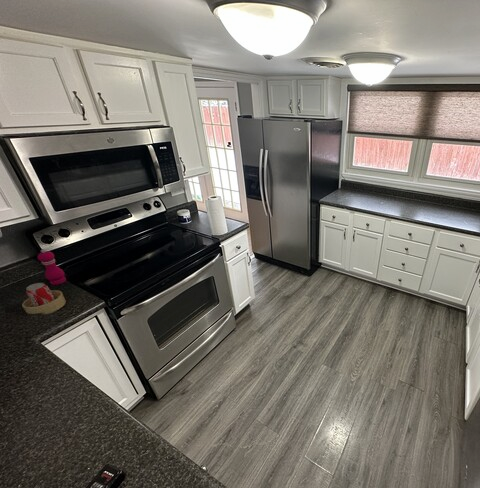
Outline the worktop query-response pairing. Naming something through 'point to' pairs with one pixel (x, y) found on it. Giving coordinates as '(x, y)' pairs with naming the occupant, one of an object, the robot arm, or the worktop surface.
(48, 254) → the pepper mill
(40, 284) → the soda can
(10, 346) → the worktop surface
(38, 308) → the beige oval piece
